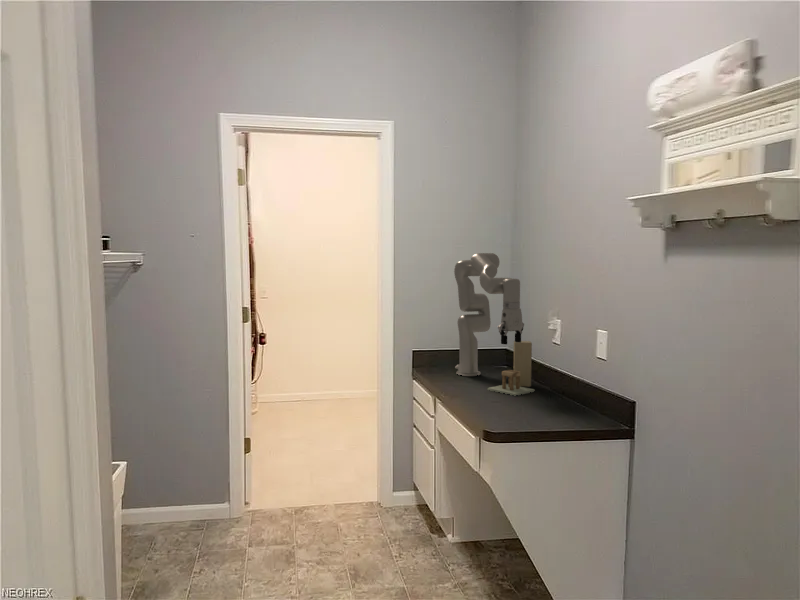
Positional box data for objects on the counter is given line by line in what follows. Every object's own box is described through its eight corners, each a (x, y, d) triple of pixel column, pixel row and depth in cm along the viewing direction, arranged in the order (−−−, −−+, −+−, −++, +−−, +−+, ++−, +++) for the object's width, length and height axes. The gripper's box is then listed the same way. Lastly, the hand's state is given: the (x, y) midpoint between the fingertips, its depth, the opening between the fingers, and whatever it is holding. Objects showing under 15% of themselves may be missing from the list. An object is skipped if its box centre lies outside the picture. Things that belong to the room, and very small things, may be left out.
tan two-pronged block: (511, 390, 263) (512, 373, 263) (501, 388, 268) (501, 371, 267) (520, 388, 267) (520, 371, 266) (510, 386, 272) (510, 369, 271)
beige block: (529, 383, 283) (529, 340, 282) (531, 386, 276) (531, 342, 274) (512, 383, 284) (513, 340, 282) (514, 386, 277) (514, 342, 275)
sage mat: (487, 390, 269) (487, 388, 269) (507, 385, 278) (507, 383, 278) (514, 396, 257) (514, 393, 257) (534, 391, 266) (534, 389, 266)
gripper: (505, 307, 256) (505, 345, 258) (530, 305, 267) (529, 342, 269) (492, 306, 262) (492, 344, 263) (517, 304, 273) (516, 340, 274)
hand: (511, 343), depth 266 cm, fingers open, 9 cm apart
